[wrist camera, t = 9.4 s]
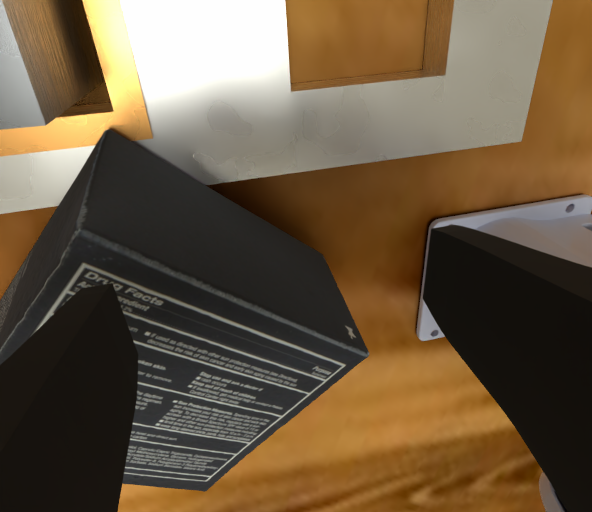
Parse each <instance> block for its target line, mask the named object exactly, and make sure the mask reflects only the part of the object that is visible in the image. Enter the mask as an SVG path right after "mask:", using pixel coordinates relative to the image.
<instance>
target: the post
mask: <svg viewBox="0 0 592 512" xmlns="http://www.w3.org/2000/svg"><path fill="white" fill-rule="evenodd" d="M102 82H103V80H102V76H101V72H100V68H99V65H98V61H97V57H96V53H95V50H94V46H93V42H92V39H91V35H90V31H89V27H88V24H87V20H86V16H85V12H84V9H83V5H82V1H81V0H0V130H3V129H14V128H25V127H36V126H46V125H47V124H49V123H50V122H51V121H53V120H54V119H55V118H57V117H58V116H59V115H60V114H62V113H63V112H64V111H66V110H67V109H68V108H70V107H71V106H72V105H74V104H75V103H76V102H77V101H79V100H80V99H81V98H83V97H84V96H85V95H87V94H88V93H89V92H91V91H92V90H93V89H94V88H96V87H97V86H98V85H100V84H101V83H102Z"/></svg>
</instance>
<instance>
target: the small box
mask: <svg viewBox="0 0 592 512" xmlns="http://www.w3.org/2000/svg"><path fill="white" fill-rule="evenodd" d="M110 283H113V286H114V289H115V291H116V294H117V297H118V300H119V302H120V305H121V308H122V311H123V313H124V316H125V319H126V322H127V325H128V327H129V330H130V333H131V336H132V338H133V341H134V344H135V347H136V349H137V352H138V387H137V401H136V407H135V413H134V419H133V425H132V431H131V436H130V442H129V448H128V453H127V459H126V465H125V470H124V476H123V482H122V483H123V484H134V485H144V486H155V487H164V488H176V489H187V490H199V491H207V490H208V489H209V488H210V487H211V486H212V485H213V484H214V483H215V482H217V481H218V480H219V479H220V478H221V477H222V476H223V475H224V474H225V473H227V472H228V471H229V470H230V469H231V468H232V467H233V466H235V465H236V464H237V463H238V462H239V461H240V460H241V459H243V458H244V457H245V456H246V455H247V454H249V453H250V452H251V451H253V450H254V449H255V448H256V447H257V446H258V445H260V444H261V443H262V442H263V441H265V440H266V439H267V438H268V437H269V436H271V435H272V434H273V433H274V432H275V431H276V430H278V429H279V428H280V427H281V426H283V425H285V424H286V423H287V422H288V421H289V420H291V419H292V418H293V417H294V416H296V415H297V414H298V413H299V412H300V411H302V410H303V409H304V408H305V407H306V406H308V405H309V404H310V403H311V402H312V401H314V400H315V399H317V398H318V397H319V396H320V395H321V394H322V393H324V392H325V391H326V390H328V389H329V388H330V387H331V386H332V385H333V384H334V383H336V382H337V381H338V380H339V379H341V378H342V377H343V376H344V375H346V374H347V373H348V372H349V371H350V370H351V369H353V368H354V367H355V366H356V365H357V364H359V363H360V362H361V361H363V360H364V359H365V358H367V357H368V356H369V352H368V349H367V347H366V346H365V343H364V341H363V339H362V337H361V335H360V333H359V331H358V328H357V326H356V324H355V322H354V320H353V318H352V316H351V313H350V311H349V309H348V307H347V305H346V303H345V301H344V298H343V296H342V294H341V292H340V290H339V288H338V287H337V283H336V282H335V280H334V277H333V275H332V273H331V271H330V269H329V267H328V265H327V263H326V260H325V258H324V256H323V255H322V254H321V253H319V252H318V251H316V250H314V249H313V248H311V247H309V246H307V245H306V244H304V243H302V242H301V241H299V240H297V239H295V238H294V237H292V236H290V235H289V234H287V233H285V232H284V231H282V230H280V229H278V228H277V227H275V226H273V225H272V224H270V223H268V222H267V221H265V220H263V219H261V218H260V217H258V216H256V215H255V214H253V213H251V212H250V211H248V210H246V209H244V208H243V207H241V206H239V205H238V204H236V203H234V202H232V201H231V200H229V199H227V198H226V197H224V196H222V195H221V194H219V193H217V192H216V191H214V190H212V189H211V188H209V187H207V186H206V185H204V184H202V183H200V182H199V181H197V180H195V179H193V178H192V177H190V176H188V175H187V174H185V173H183V172H182V171H180V170H178V169H177V168H175V167H173V166H171V165H170V164H168V163H166V162H165V161H163V160H161V159H159V158H158V157H156V156H154V155H153V154H151V153H149V152H147V151H146V150H144V149H142V148H141V147H139V146H137V145H136V144H134V143H132V142H131V141H129V140H127V139H126V138H124V137H122V136H121V135H119V134H117V133H115V132H114V131H112V130H105V131H104V133H103V134H102V136H101V137H100V139H99V141H98V142H97V144H96V145H95V147H94V149H93V151H92V152H91V154H90V156H89V157H88V159H87V161H86V163H85V164H84V166H83V167H82V169H81V170H80V172H79V174H78V176H77V177H76V179H75V180H74V182H73V184H72V185H71V187H70V188H69V190H68V191H67V193H66V194H65V196H64V198H63V199H62V201H61V202H60V204H59V206H58V207H57V209H56V211H55V212H54V214H53V216H52V217H51V219H50V220H49V222H48V224H47V225H46V227H45V228H44V230H43V231H42V233H41V235H40V237H39V238H38V240H37V242H36V243H35V245H34V246H33V248H32V250H31V251H30V253H29V254H28V256H27V258H26V259H25V261H24V263H23V264H22V266H21V267H20V269H19V271H18V272H17V274H16V276H15V277H14V279H13V281H12V282H11V284H10V285H9V287H8V289H7V290H6V292H5V293H4V295H3V297H2V298H1V300H0V365H1V364H2V363H3V362H4V361H5V360H6V359H8V358H9V357H10V356H11V355H12V354H13V353H14V352H15V351H16V350H17V349H18V348H19V347H20V346H21V345H22V344H23V343H24V342H25V341H26V340H28V339H29V338H30V337H31V336H32V335H33V334H34V333H35V332H36V331H37V330H38V329H39V328H40V327H41V326H42V325H43V324H44V323H45V322H46V321H47V320H48V319H49V318H50V317H51V316H52V315H53V314H54V313H55V312H56V311H57V310H58V309H59V308H60V307H62V306H63V305H64V304H65V303H66V302H67V301H68V300H69V299H70V298H71V297H72V296H73V295H74V294H75V293H77V292H78V291H79V290H80V289H82V288H86V287H92V286H98V285H104V284H110Z"/></svg>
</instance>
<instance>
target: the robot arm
mask: <svg viewBox="0 0 592 512" xmlns="http://www.w3.org/2000/svg"><path fill="white" fill-rule="evenodd" d="M567 206H568V207H567ZM591 210H592V197H591V196H589V195H585V194H583V195H577V196H571V197H565V198H559V199H553V200H547V201H542V202H536V203H530V204H524V205H518V206H512V207H506V208H500V209H494V210H488V211H482V212H476V213H470V214H464V215H458V216H452V217H446V218H440V219H436V220H435V221H433V222H432V223H431V225H430V227H429V231H428V239H427V248H426V256H425V265H424V273H423V281H422V290H421V298H420V307H419V315H418V324H417V332H416V333H417V336H418V338H419V339H420V340H422V341H427V340H431V339H436V338H441V337H446V338H447V340H448V341H449V342H450V343H451V345H452V346H453V347H454V349H455V350H456V351H457V352H458V354H459V355H460V356H461V358H462V359H463V360H464V361H465V363H466V364H467V365H468V367H469V368H470V369H471V370H472V372H473V373H474V374H475V375H476V377H477V378H478V379H479V380H480V382H481V383H482V384H483V385H484V387H485V388H486V389H487V391H488V392H489V393H490V394H491V396H492V397H493V398H494V399H495V401H496V402H497V403H498V404H499V406H500V407H501V408H502V410H503V411H504V412H505V414H506V415H507V417H508V418H509V419H510V421H511V422H512V423H513V425H514V426H515V428H516V429H517V431H518V432H519V434H520V435H521V437H522V439H523V440H524V442H525V443H526V445H527V446H528V448H529V450H530V451H531V453H532V454H533V456H534V457H535V459H536V460H537V462H538V464H539V465H540V467H541V468H542V470H543V473H542V474H541V477H540V480H539V488H540V494H541V498H542V501H543V504H544V507H545V511H546V512H592V215H591V214H590V213H591ZM450 224H451V225H450ZM448 225H449V226H448ZM432 331H433V332H432ZM137 387H138V352H137V349H136V347H135V344H134V341H133V338H132V336H131V333H130V330H129V327H128V325H127V322H126V319H125V316H124V313H123V311H122V308H121V305H120V302H119V300H118V297H117V294H116V291H115V289H114V286H113V283H110V284H104V285H98V286H92V287H86V288H82V289H80V290H79V291H78V292H77V293H75V294H74V295H73V296H72V297H71V298H70V299H69V300H68V301H67V302H66V303H65V304H64V305H63V306H62V307H60V308H59V309H58V310H57V311H56V312H55V313H54V314H53V315H52V316H51V317H50V318H49V319H48V320H47V321H46V322H45V323H44V324H43V325H42V326H41V327H40V328H39V329H38V330H37V331H36V332H35V333H34V334H33V335H32V336H31V337H30V338H29V339H28V340H26V341H25V342H24V343H23V344H22V345H21V346H20V347H19V348H18V349H17V350H16V351H15V352H14V353H13V354H12V355H11V356H10V357H9V358H8V359H6V360H5V361H4V362H3V363H2V364H1V365H0V512H117V511H118V504H119V498H120V493H121V487H122V482H123V476H124V470H125V465H126V459H127V453H128V448H129V442H130V436H131V431H132V425H133V419H134V413H135V407H136V401H137Z"/></svg>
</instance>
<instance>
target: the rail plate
mask: <svg viewBox="0 0 592 512" xmlns="http://www.w3.org/2000/svg"><path fill="white" fill-rule="evenodd" d="M82 1H83V4H84V8H85V11H86V15H87V18H88V22H89V25H90V29H91V32H92V36H93V39H94V43H95V46H96V50H97V54H98V57H99V61H100V64H101V68H102V71H103V75H104V78H105V82H106V85H107V89H108V92H109V96H110V99H111V102H109V103H99V104H89V105H80V106H71V107H70V108H68V109H67V110H66V111H64V112H63V113H62V114H60V115H59V116H58V117H57V118H55V119H54V120H53V121H51V122H50V123H49V124H47V125H46V126H36V127H25V128H14V129H3V130H0V214H3V213H10V212H18V211H25V210H32V209H39V208H46V207H53V206H59V204H60V202H61V201H62V199H63V198H64V196H65V194H66V193H67V191H68V190H69V188H70V187H71V185H72V184H73V182H74V180H75V179H76V177H77V176H78V174H79V172H80V170H81V169H82V167H83V166H84V164H85V163H86V161H87V159H88V157H89V156H90V154H91V152H92V151H93V149H94V147H95V145H96V144H97V142H98V141H99V139H100V137H101V136H102V134H103V133H104V131H105V130H112V131H114V132H115V133H117V134H119V135H121V136H122V137H124V138H126V139H127V140H129V141H131V142H132V143H134V144H136V145H137V146H139V147H141V148H142V149H144V150H146V151H147V152H149V153H151V154H153V155H154V156H156V157H158V158H159V159H161V160H163V161H165V162H166V163H168V164H170V165H171V166H173V167H175V168H177V169H178V170H180V171H182V172H183V173H185V174H187V175H188V176H190V177H192V178H193V179H195V180H197V181H199V182H200V183H202V184H204V185H211V184H219V183H226V182H233V181H240V180H247V179H255V178H262V177H269V176H276V175H283V174H290V173H298V172H305V171H312V170H319V169H326V168H334V167H341V166H348V165H355V164H362V163H369V162H377V161H384V160H391V159H398V158H405V157H413V156H420V155H427V154H434V153H441V152H449V151H456V150H463V149H470V148H477V147H484V146H492V145H499V144H506V143H513V142H520V141H522V137H523V132H524V128H525V123H526V119H527V114H528V110H529V105H530V101H531V96H532V92H533V87H534V83H535V78H536V74H537V69H538V65H539V60H540V56H541V51H542V47H543V42H544V38H545V33H546V29H547V25H548V20H549V16H550V11H551V7H552V2H553V0H429V4H428V15H427V26H426V37H425V49H424V60H423V70H418V71H408V72H399V73H389V74H379V75H370V76H360V77H350V78H341V79H331V80H321V81H312V82H302V83H292V84H291V83H290V68H289V53H288V37H287V22H286V7H285V0H82Z"/></svg>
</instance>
